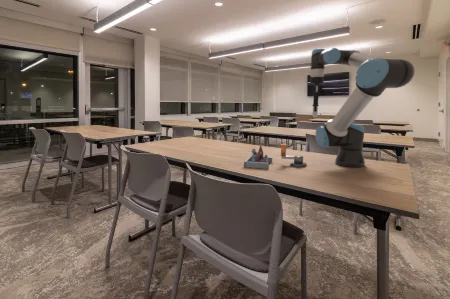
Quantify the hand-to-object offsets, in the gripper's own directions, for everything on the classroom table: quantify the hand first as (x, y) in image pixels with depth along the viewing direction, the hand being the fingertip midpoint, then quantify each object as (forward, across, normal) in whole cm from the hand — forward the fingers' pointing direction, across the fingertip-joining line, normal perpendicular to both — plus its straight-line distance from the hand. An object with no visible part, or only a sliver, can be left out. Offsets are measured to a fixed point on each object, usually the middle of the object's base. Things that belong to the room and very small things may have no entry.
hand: (314, 117), depth 154 cm
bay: (+26, +24, -30) cm, 46 cm away
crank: (+25, +18, -12) cm, 33 cm away
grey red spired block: (+27, +22, -30) cm, 46 cm away
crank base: (+26, +18, -8) cm, 33 cm away
